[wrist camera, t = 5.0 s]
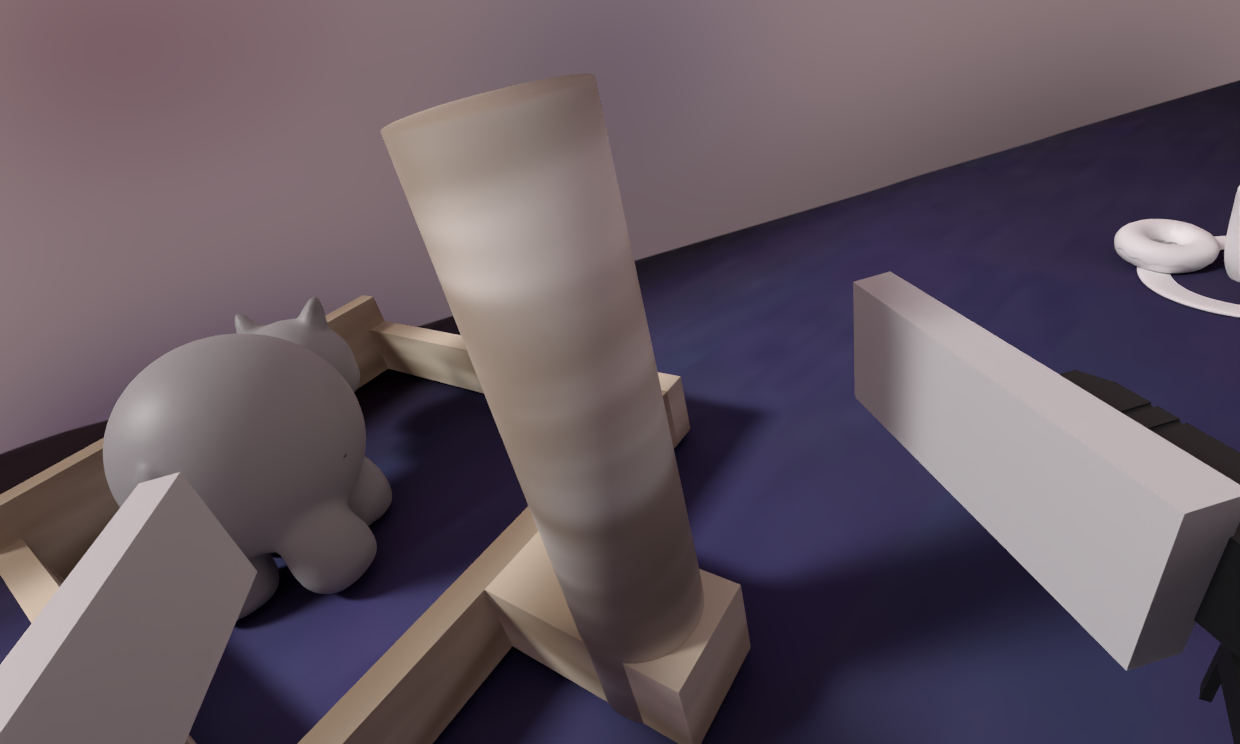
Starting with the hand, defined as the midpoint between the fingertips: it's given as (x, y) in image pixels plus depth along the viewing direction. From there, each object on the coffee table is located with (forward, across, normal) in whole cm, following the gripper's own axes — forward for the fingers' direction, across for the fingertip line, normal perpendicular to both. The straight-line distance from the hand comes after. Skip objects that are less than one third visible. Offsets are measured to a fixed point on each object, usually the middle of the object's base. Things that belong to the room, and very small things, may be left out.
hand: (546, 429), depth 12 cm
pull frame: (+8, -7, -8) cm, 13 cm away
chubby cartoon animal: (+11, -10, -9) cm, 18 cm away
